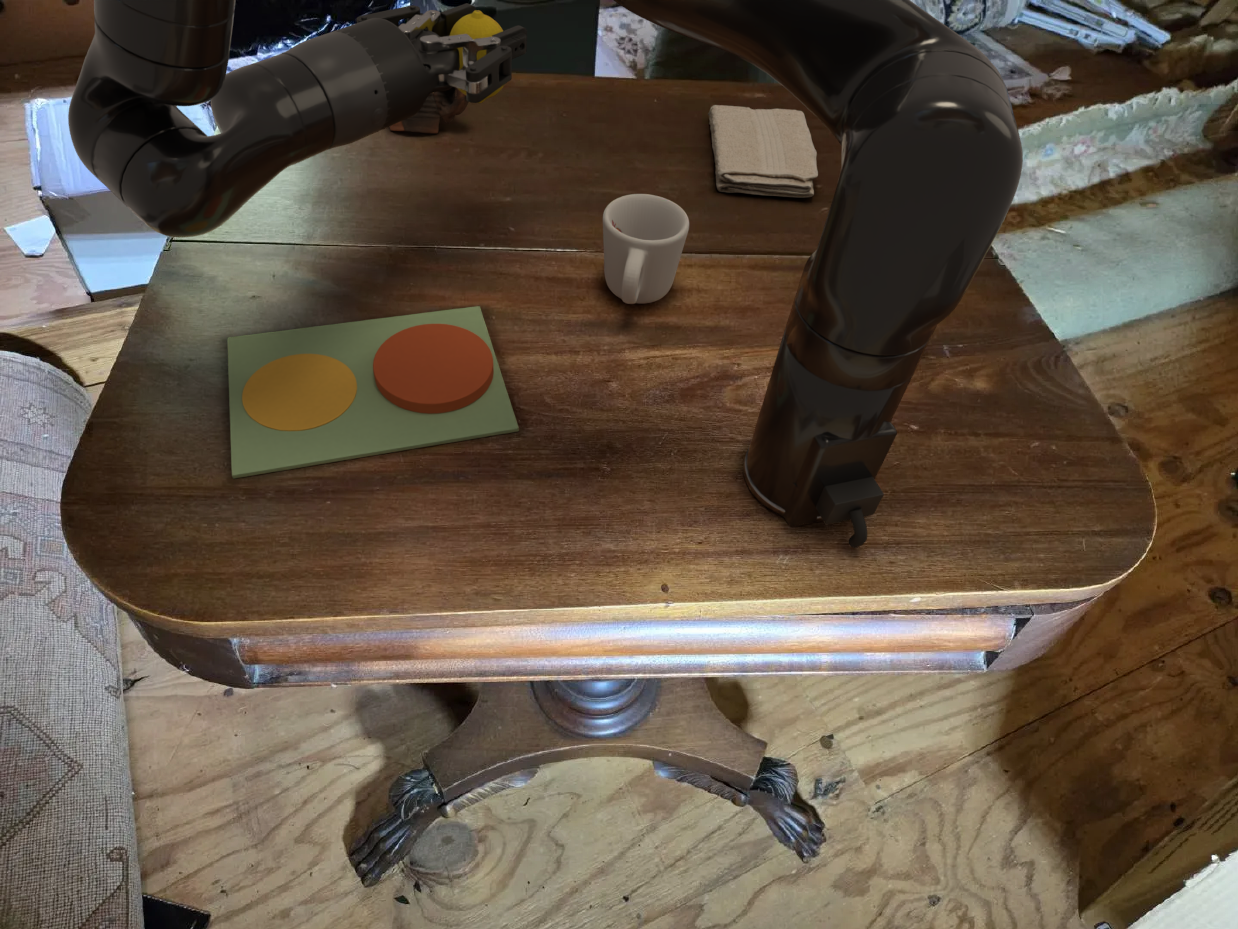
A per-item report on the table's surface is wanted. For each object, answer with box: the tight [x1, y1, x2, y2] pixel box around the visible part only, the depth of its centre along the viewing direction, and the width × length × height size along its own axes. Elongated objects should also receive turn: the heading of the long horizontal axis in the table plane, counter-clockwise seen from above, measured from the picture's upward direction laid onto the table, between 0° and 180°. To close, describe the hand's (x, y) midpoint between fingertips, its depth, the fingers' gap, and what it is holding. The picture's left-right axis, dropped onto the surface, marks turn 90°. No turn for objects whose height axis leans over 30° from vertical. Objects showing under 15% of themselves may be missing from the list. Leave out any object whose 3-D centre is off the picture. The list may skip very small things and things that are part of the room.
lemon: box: [450, 9, 506, 104], centre depth 75 cm, size 6×6×8 cm
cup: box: [602, 193, 690, 305], centre depth 80 cm, size 11×8×8 cm
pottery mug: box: [389, 87, 469, 134], centre depth 100 cm, size 12×10×8 cm
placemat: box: [226, 305, 520, 480], centre depth 71 cm, size 16×22×2 cm
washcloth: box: [707, 104, 819, 199], centre depth 101 cm, size 12×18×3 cm, turn 0°
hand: (497, 27), depth 75 cm, fingers closed on lemon, 5 cm apart
